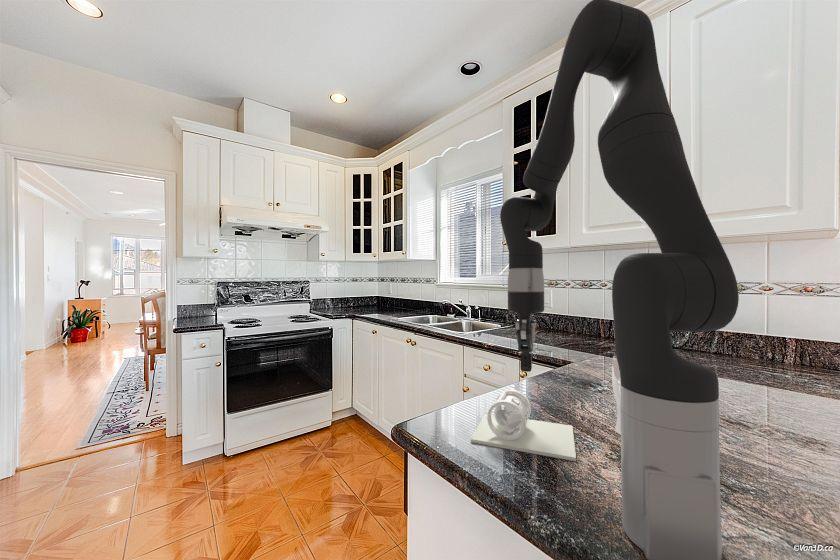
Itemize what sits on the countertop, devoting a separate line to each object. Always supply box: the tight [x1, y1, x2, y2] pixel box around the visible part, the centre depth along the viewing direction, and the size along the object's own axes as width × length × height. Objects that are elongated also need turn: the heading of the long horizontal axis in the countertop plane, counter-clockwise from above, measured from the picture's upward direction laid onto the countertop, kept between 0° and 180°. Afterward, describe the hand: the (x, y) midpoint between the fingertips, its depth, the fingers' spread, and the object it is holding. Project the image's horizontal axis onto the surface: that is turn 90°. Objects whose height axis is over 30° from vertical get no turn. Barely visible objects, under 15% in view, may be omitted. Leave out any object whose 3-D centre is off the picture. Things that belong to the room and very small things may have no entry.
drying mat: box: [470, 412, 577, 462], centre depth 66 cm, size 14×18×1 cm
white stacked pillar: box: [487, 389, 532, 440], centre depth 68 cm, size 7×7×15 cm
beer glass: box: [611, 355, 621, 436], centre depth 67 cm, size 7×7×15 cm
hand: (526, 370), depth 72 cm, fingers closed
